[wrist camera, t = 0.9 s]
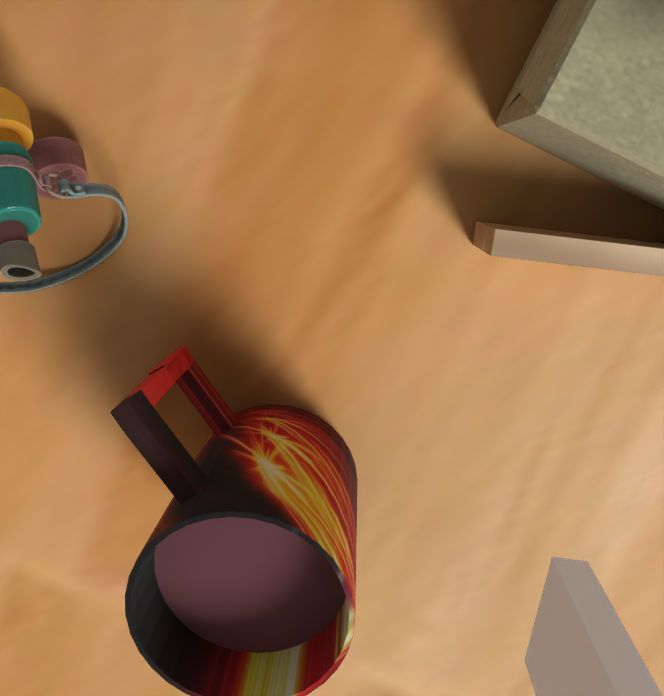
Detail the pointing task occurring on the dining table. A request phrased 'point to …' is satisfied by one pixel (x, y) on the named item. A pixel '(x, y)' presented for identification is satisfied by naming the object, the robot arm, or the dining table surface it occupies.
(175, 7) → the dining table surface
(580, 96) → the tissue box
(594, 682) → the robot arm
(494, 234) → the bay
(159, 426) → the mug
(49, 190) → the binoculars
